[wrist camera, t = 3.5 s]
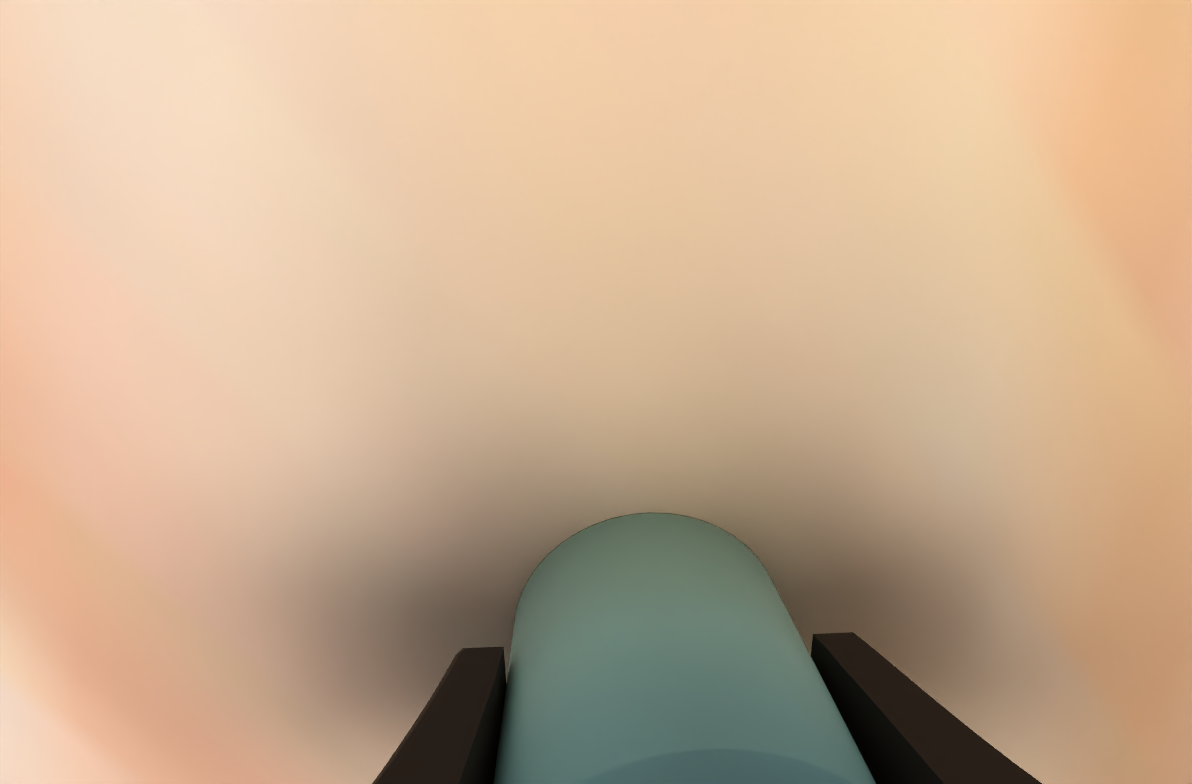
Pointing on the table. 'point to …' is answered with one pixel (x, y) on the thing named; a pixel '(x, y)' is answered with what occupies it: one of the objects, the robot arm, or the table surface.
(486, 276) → the table surface
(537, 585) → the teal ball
